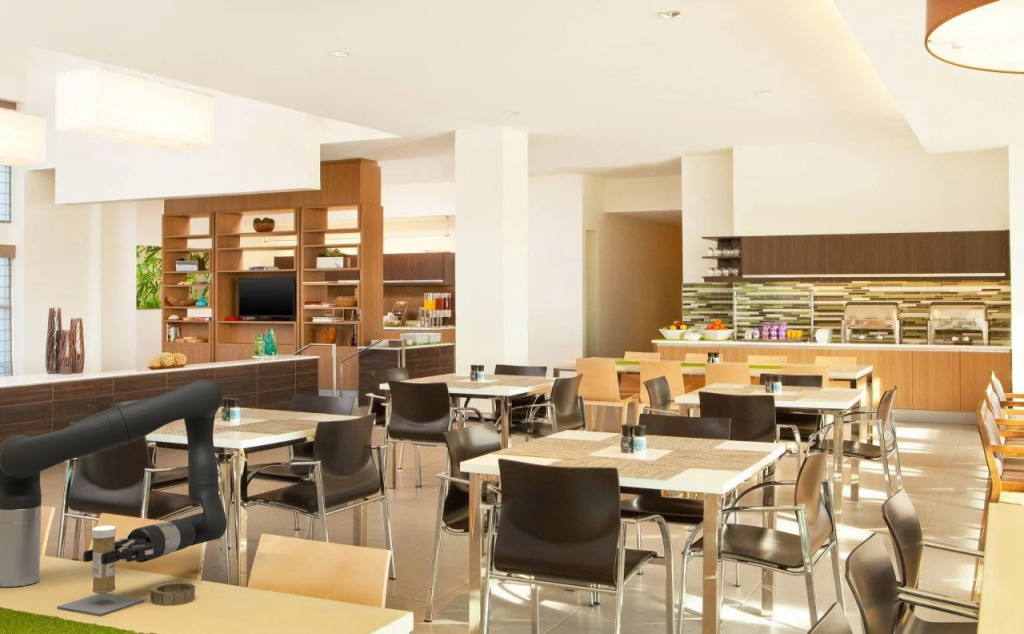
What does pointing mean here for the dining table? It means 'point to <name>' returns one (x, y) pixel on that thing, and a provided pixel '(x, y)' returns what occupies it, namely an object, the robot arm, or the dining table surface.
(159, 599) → the ring holder
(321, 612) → the dining table surface
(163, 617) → the dining table surface
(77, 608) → the rubber mat
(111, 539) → the sprinkles bottle
